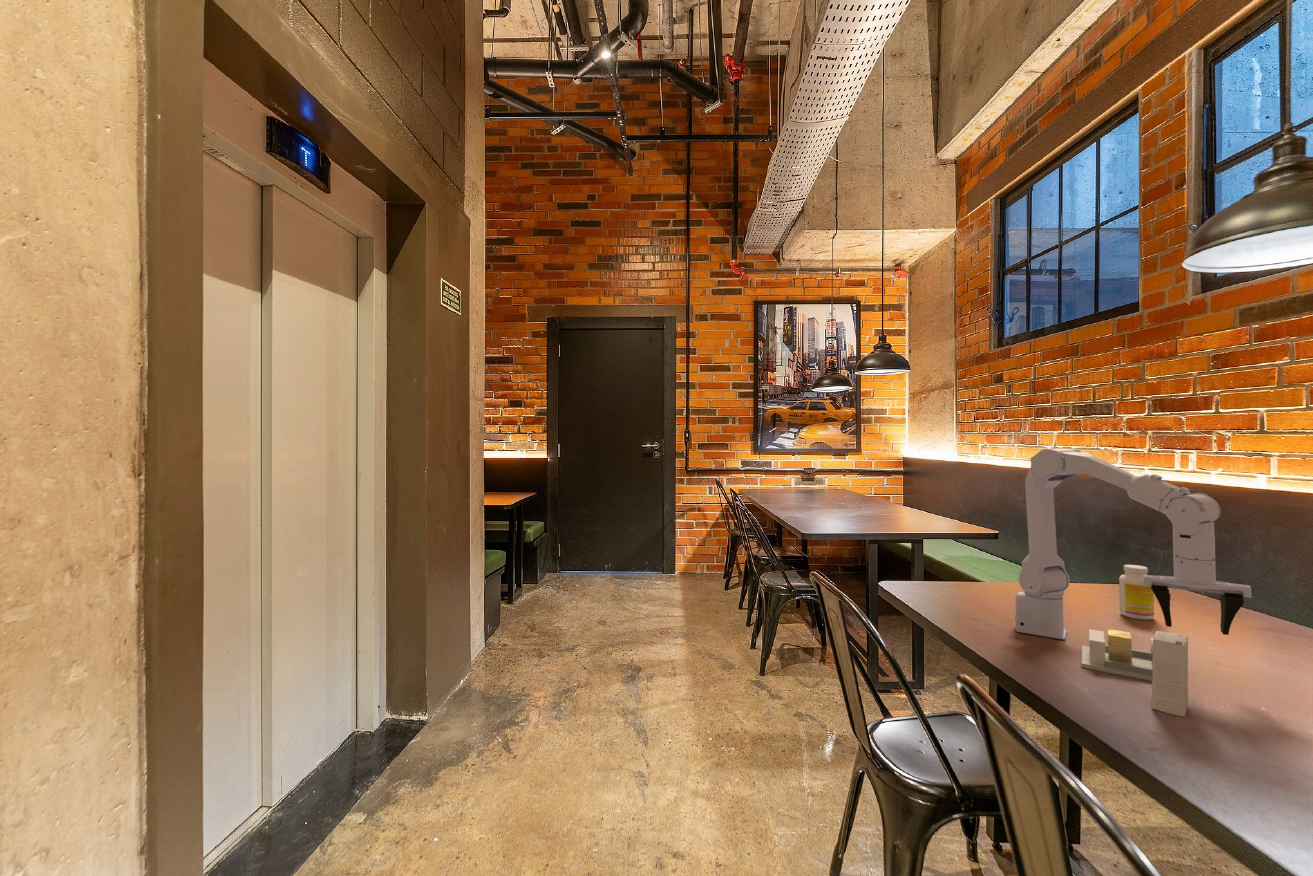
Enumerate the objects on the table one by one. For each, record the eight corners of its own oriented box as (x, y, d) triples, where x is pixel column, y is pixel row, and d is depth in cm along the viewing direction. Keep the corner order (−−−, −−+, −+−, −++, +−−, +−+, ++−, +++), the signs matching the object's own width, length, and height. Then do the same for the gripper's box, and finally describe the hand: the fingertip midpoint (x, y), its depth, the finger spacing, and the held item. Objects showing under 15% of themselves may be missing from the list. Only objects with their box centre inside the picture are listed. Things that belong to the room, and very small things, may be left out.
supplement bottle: (1160, 621, 136) (1159, 570, 136) (1130, 620, 137) (1129, 569, 138) (1142, 613, 143) (1141, 564, 143) (1113, 611, 144) (1112, 563, 144)
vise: (1081, 667, 109) (1081, 641, 109) (1082, 649, 119) (1081, 625, 119) (1177, 686, 101) (1177, 657, 101) (1169, 664, 110) (1169, 639, 110)
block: (1109, 662, 110) (1108, 635, 110) (1108, 655, 113) (1107, 629, 113) (1132, 666, 107) (1131, 638, 107) (1130, 659, 111) (1129, 632, 111)
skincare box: (1154, 697, 96) (1153, 629, 96) (1190, 706, 93) (1188, 635, 93) (1151, 709, 92) (1149, 638, 92) (1188, 719, 89) (1186, 644, 89)
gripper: (1145, 556, 105) (1147, 627, 105) (1255, 566, 96) (1257, 643, 96) (1141, 550, 110) (1143, 618, 110) (1245, 559, 102) (1247, 632, 101)
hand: (1195, 629), depth 103 cm, fingers open, 7 cm apart
